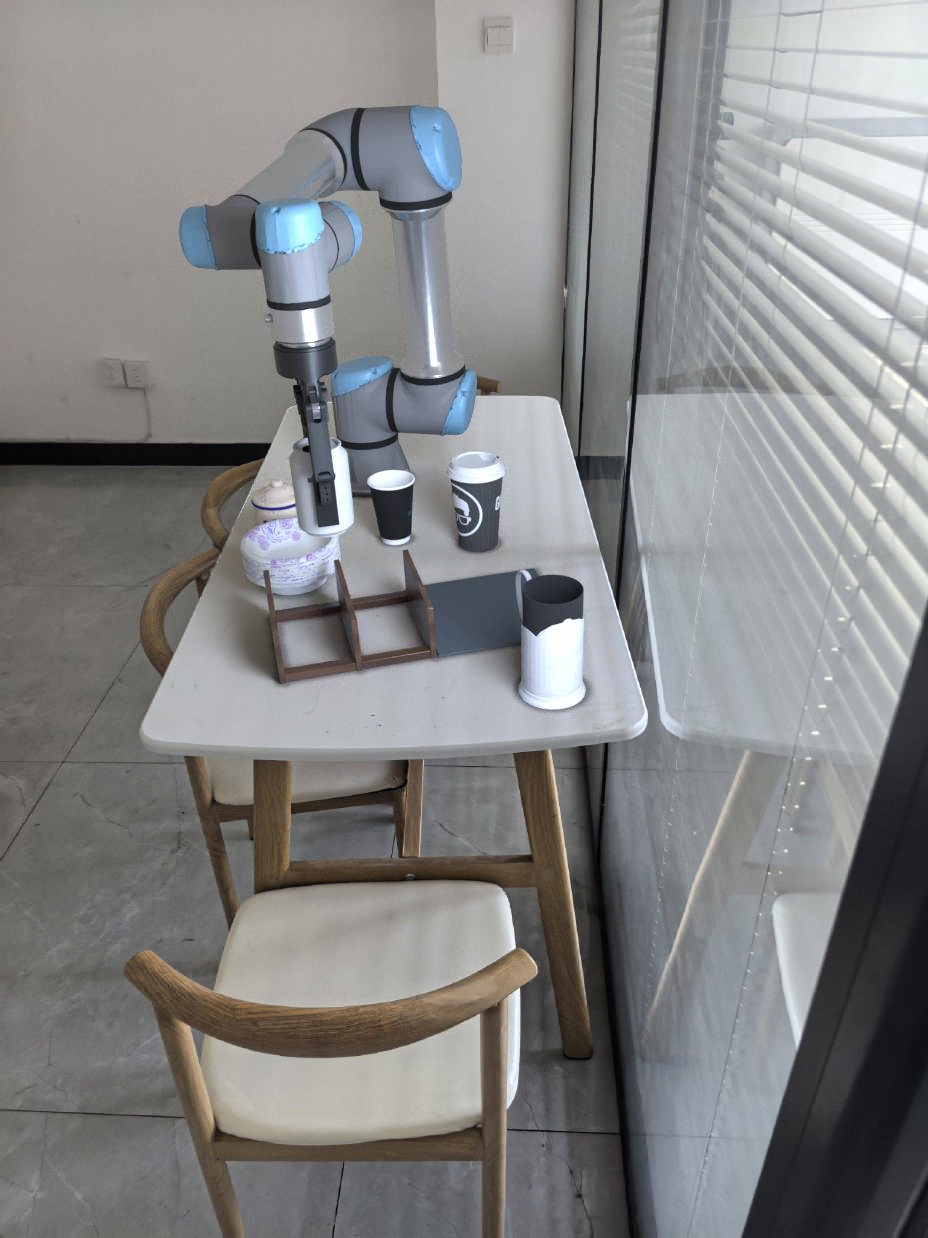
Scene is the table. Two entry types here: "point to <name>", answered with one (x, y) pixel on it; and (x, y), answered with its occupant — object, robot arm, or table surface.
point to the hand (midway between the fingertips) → (325, 511)
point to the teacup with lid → (274, 502)
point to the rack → (346, 607)
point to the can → (305, 492)
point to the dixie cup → (393, 504)
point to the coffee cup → (477, 498)
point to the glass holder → (551, 640)
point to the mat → (476, 613)
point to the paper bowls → (288, 556)
